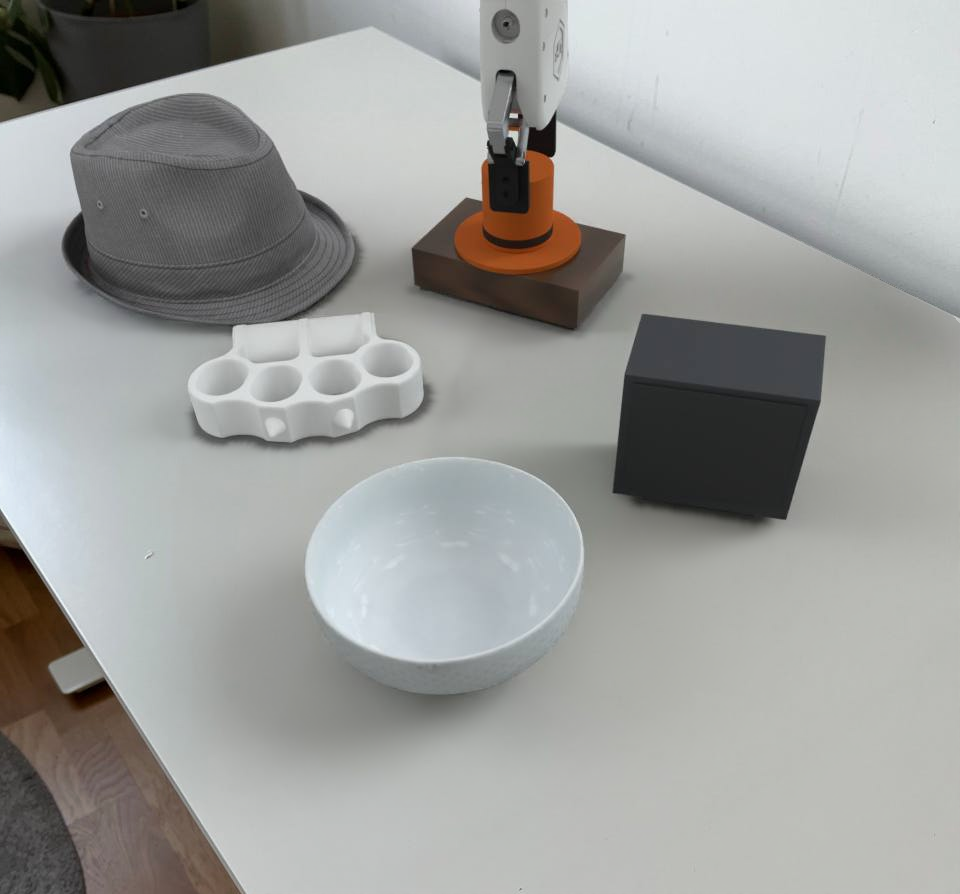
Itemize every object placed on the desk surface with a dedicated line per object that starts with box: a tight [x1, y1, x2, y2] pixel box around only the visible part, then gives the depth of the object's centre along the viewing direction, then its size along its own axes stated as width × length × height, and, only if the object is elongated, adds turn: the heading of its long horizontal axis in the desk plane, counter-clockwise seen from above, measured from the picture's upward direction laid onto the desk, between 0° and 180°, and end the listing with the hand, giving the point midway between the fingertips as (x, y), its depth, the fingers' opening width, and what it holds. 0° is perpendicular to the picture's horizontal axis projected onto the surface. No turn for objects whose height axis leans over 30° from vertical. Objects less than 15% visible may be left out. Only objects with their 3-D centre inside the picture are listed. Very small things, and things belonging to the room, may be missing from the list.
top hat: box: [455, 150, 581, 275], centre depth 83 cm, size 11×11×6 cm
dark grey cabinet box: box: [612, 313, 827, 521], centre depth 67 cm, size 7×12×11 cm, turn 75°
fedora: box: [60, 92, 356, 327], centre depth 88 cm, size 24×27×12 cm
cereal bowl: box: [303, 456, 585, 696], centre depth 61 cm, size 17×17×7 cm
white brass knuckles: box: [187, 311, 425, 444], centre depth 78 cm, size 3×18×15 cm
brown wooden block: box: [411, 196, 627, 330], centre depth 87 cm, size 16×10×4 cm, turn 62°
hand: (524, 182), depth 82 cm, fingers open, 9 cm apart
